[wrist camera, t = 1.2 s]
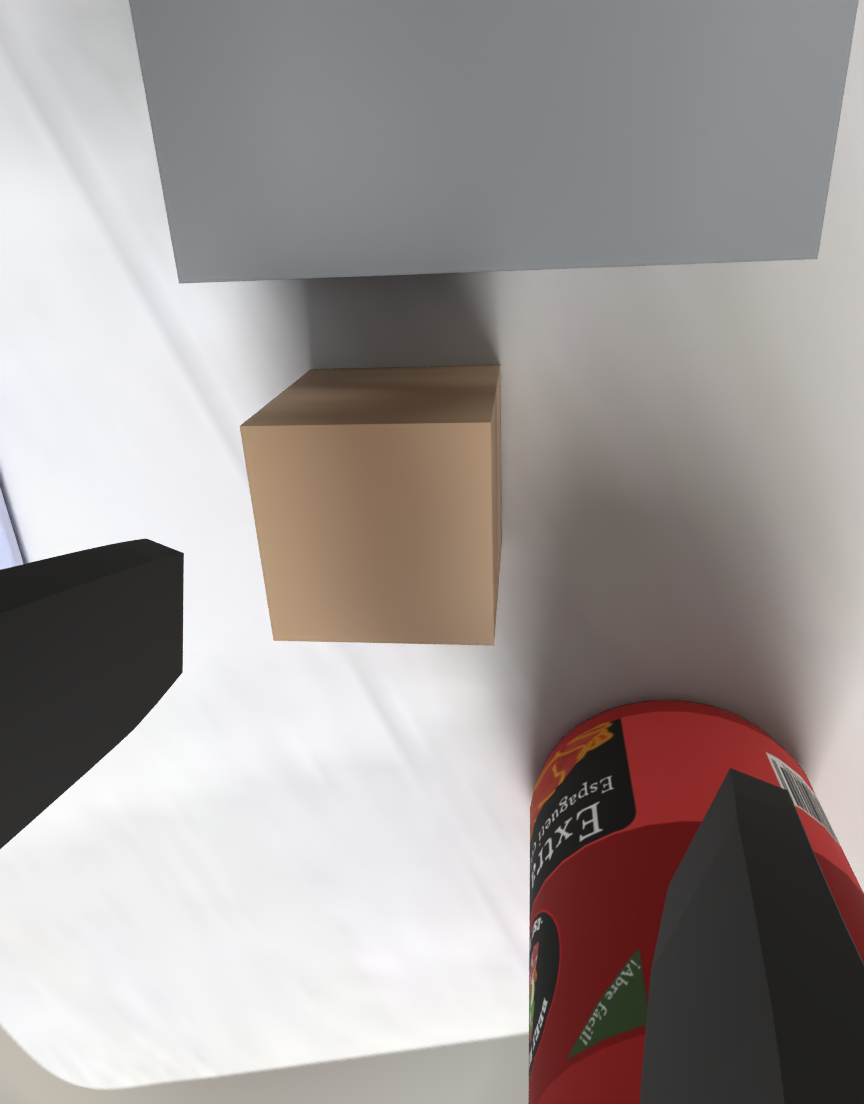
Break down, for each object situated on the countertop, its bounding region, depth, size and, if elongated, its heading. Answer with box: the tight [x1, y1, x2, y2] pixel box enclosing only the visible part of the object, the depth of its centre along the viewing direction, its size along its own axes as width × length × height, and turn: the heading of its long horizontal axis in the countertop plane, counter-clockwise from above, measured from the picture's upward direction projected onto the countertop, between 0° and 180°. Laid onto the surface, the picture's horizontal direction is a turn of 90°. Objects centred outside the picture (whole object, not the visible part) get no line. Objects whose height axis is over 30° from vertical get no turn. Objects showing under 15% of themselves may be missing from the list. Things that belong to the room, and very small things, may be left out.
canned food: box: [529, 701, 864, 1104], centre depth 17 cm, size 8×8×11 cm
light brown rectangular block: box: [240, 365, 502, 645], centre depth 16 cm, size 4×4×5 cm
